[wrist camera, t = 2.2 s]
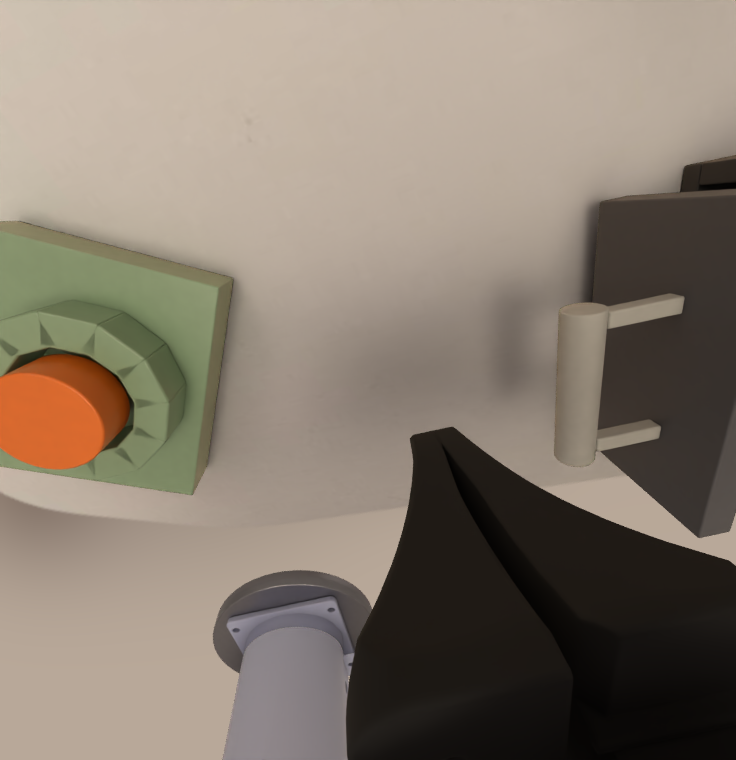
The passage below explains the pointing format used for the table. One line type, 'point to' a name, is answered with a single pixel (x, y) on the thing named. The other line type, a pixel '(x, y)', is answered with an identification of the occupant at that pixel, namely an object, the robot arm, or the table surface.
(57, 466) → the button
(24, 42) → the table surface
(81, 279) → the button housing
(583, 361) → the drawer
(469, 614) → the robot arm
